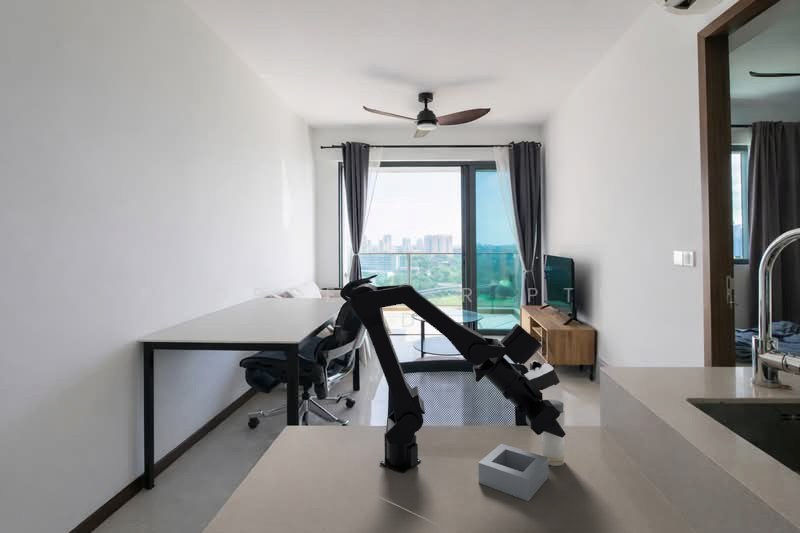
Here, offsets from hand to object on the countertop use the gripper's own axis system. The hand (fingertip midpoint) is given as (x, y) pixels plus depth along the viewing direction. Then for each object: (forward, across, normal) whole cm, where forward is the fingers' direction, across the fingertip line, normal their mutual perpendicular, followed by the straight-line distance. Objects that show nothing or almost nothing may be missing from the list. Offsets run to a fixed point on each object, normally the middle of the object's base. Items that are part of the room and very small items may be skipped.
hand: (559, 430), depth 91 cm
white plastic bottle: (+4, 0, +6) cm, 7 cm away
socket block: (-4, -7, +13) cm, 15 cm away
